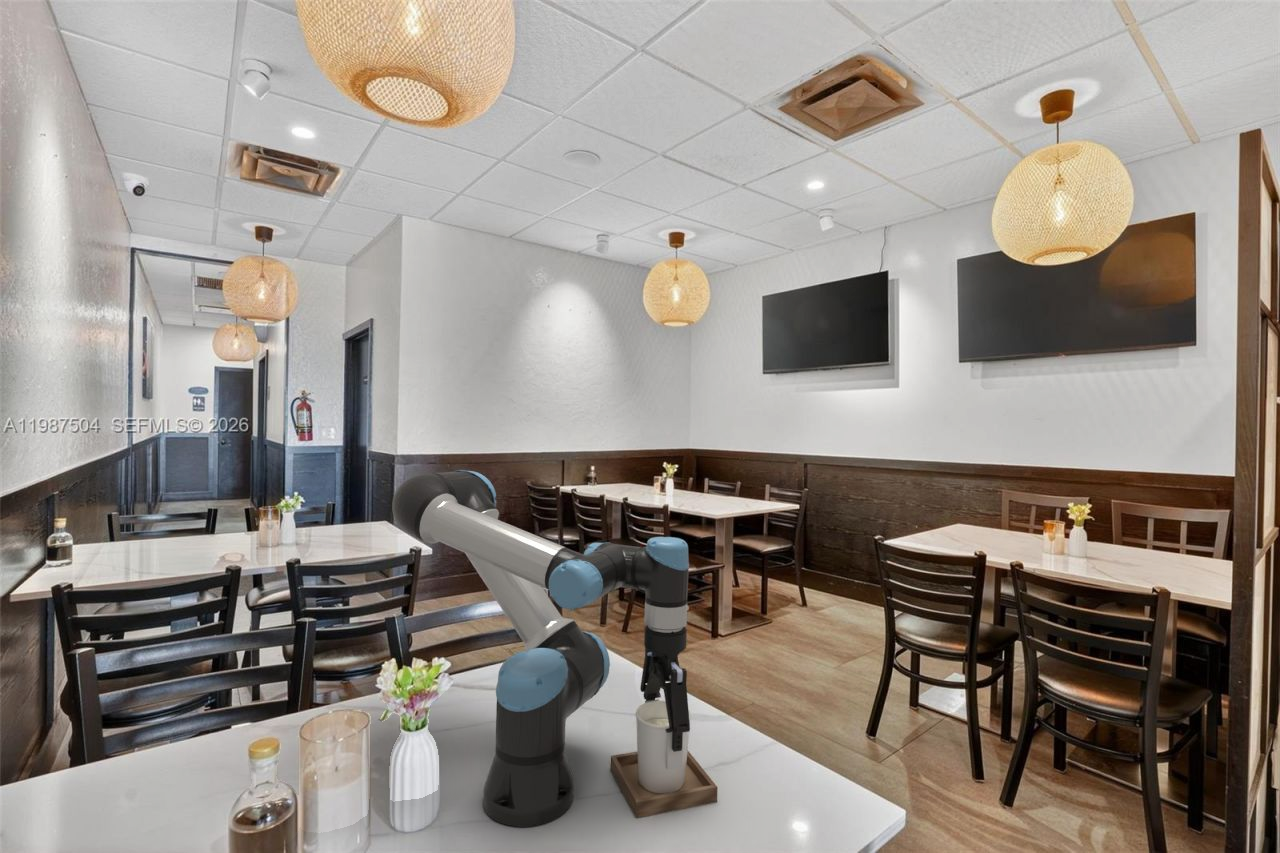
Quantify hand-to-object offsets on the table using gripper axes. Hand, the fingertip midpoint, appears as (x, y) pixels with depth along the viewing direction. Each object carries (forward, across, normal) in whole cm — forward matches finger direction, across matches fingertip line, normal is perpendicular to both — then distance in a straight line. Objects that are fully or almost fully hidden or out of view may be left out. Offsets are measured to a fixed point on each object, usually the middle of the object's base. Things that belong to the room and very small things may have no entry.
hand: (662, 750), depth 107 cm
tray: (+6, 0, 0) cm, 6 cm away
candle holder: (+5, 0, 0) cm, 5 cm away
